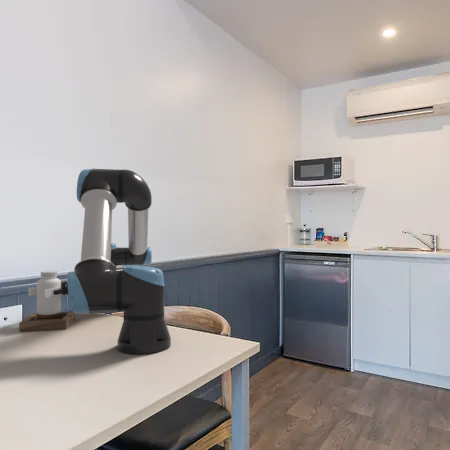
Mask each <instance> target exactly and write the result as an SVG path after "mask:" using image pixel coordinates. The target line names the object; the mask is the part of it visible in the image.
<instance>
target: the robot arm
mask: <svg viewBox="0 0 450 450" xmlns="http://www.w3.org/2000/svg"><path fill="white" fill-rule="evenodd" d="M76 183H77V184H76V199H77V201H78V203H80V204H81V206H82V207H83V208H84V215H83V216H84V219H83V230H82V240H81V252H80V253H81V254H80V261H79V262H76V264H75V266H74V269H73V270H74V271H70V272H68V273H67V277H66V280H67V281H61V287H58V288H52V289H46V290H44V298H48V297H53V296H58V295H61V296H62V295H63V296H65V295H67V296H68V299H69V305H70V306H69V307H70V309H71V312H74V313H75V314H76V315H77V314H81V315H82V314H87V315H90V314H100V313H101V314H102V313H116V312H118V313H119V312H121V313H122V312H123V313H122V314H123V322H122V324H121V328H120V331H119V335H118V338H117V350H118V351H119V352H122V353H125V354H130V355H131V354H133V355H144V354H152V353H157V352H162V351H165V350H167V349H169V348H170V346H171V345H172V343H171V342H172V338H171V334H170V332H169V328H168V325H167V322H166V319H165V285H166V284H165V279H164V272H163V271H162V269H160V268H157V267H153V266H145V265H150V264H151V263H152V258H153V257H152V255H153V254H152V248H151V247H150V246H148V239H149V238H148V237H149V236H148V235H149V234H148V232H149V209H150V207H152V201H153V200H152V193H151V190H150V189H151V188H150V187H149V185H148V183H147V182H146V181H145V179H144V178H143V177H142V176H141V175H139V174H138V173H137V172H135V171H133V170H131V169H111V168H110V169H109V168H106V169H105V168H86V169H82V170H81V171H80V173H79V174H78V177H77V182H76ZM120 203H124V204H125V207H126V208H127V228H128V229H127V230H128V236H127V237H128V247H117V244H116V243H113V242H112V228H113V227H112V225H113V223H112V220H113V219H112V218H113V210H115V208H116V207H117V204H120ZM117 266H118V267H120V266H122V269H121V270H117ZM27 288H28V290H27V291H28V292H27V293H28V296H29V297H31V296H37V286H33V287H27Z"/></svg>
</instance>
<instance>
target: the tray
mask: <svg viewBox="0 0 450 450" xmlns="http://www.w3.org/2000/svg"><path fill="white" fill-rule="evenodd" d="M75 321H76V313H74V312H73V311H61V312H60V313H57V314H53V315H39V314H37V312H34V313H32V314H30V315H29V316H27V317H25V318H23V320H21V321H19V322H18V324H19V325H18V326H19V328H18V331H19V332H20V333H21V332H38V331H40V332H41V331H59V330H60V331H61V330H62V331H63V330H67V329H68V328H69V327H70V326H71V324H73V323H74V322H75Z"/></svg>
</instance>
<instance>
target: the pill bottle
mask: <svg viewBox="0 0 450 450" xmlns="http://www.w3.org/2000/svg"><path fill="white" fill-rule="evenodd" d="M57 277H58V271H57V270H42V271H41V272H40V279H38V280H37V282H36V287H37V295H36V313H37V314H39V315H53V314H57V313H60V312H62V310H61V309H62V294H61V295H58V296H53V297H48V298H44V290H46V289H52V288H58V287H61V282H62V281H61V280H60V278H57Z"/></svg>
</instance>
